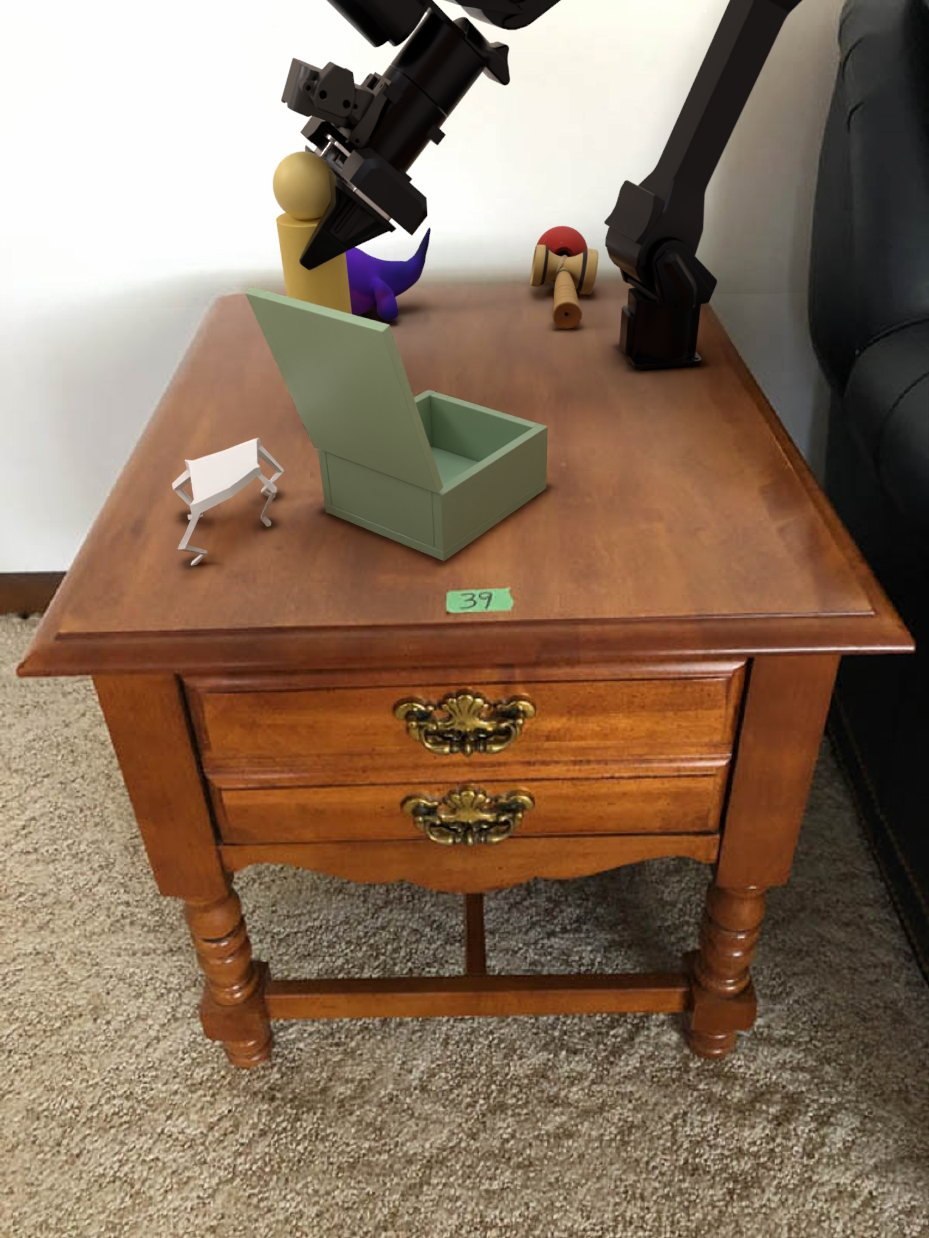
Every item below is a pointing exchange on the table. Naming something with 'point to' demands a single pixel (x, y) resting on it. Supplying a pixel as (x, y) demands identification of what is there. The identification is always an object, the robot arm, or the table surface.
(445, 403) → the chest
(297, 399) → the chest lid
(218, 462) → the white legged piece
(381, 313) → the toy
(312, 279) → the toy figure
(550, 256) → the kendama
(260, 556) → the table surface
